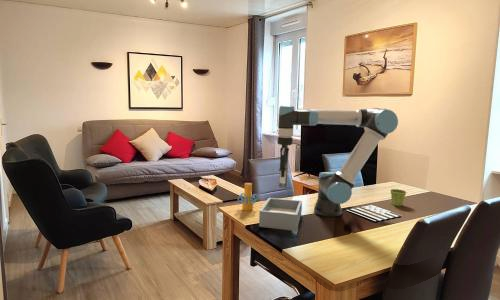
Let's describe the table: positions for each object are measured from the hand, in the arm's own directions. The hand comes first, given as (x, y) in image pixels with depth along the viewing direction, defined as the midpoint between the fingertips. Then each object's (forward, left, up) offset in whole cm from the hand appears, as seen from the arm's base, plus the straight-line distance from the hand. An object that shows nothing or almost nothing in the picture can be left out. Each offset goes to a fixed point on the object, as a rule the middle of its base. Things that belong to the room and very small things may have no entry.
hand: (283, 181), depth 186 cm
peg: (0, 0, -2) cm, 2 cm away
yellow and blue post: (+21, -12, -21) cm, 32 cm away
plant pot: (-64, -50, -21) cm, 84 cm away
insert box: (0, 0, -21) cm, 21 cm away
